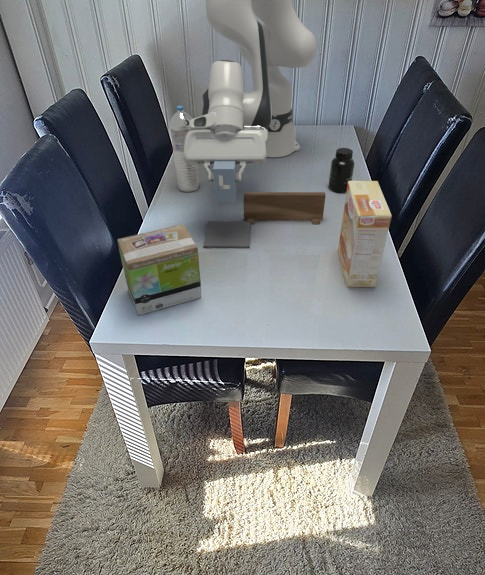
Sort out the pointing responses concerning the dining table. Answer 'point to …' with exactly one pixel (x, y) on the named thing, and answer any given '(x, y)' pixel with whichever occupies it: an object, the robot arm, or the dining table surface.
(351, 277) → the coffeecake box
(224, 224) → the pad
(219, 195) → the letter block
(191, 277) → the tea box
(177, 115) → the water bottle
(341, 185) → the supplement bottle
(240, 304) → the dining table surface
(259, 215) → the screen
